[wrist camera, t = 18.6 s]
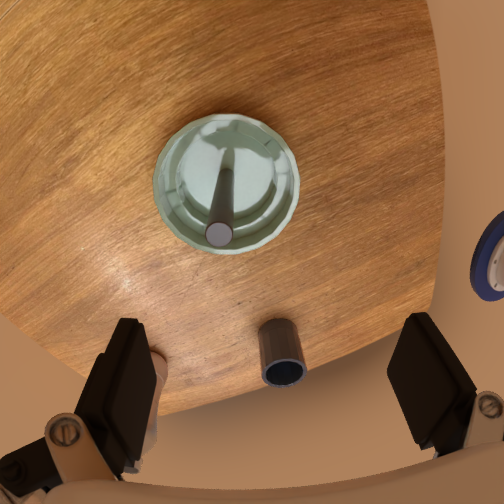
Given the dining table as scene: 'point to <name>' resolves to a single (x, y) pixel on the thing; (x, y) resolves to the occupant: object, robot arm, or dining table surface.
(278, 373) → the utensil pot
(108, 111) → the dining table surface
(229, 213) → the stirring stick
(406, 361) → the robot arm
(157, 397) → the plastic bottle
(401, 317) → the dining table surface
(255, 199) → the bowl
